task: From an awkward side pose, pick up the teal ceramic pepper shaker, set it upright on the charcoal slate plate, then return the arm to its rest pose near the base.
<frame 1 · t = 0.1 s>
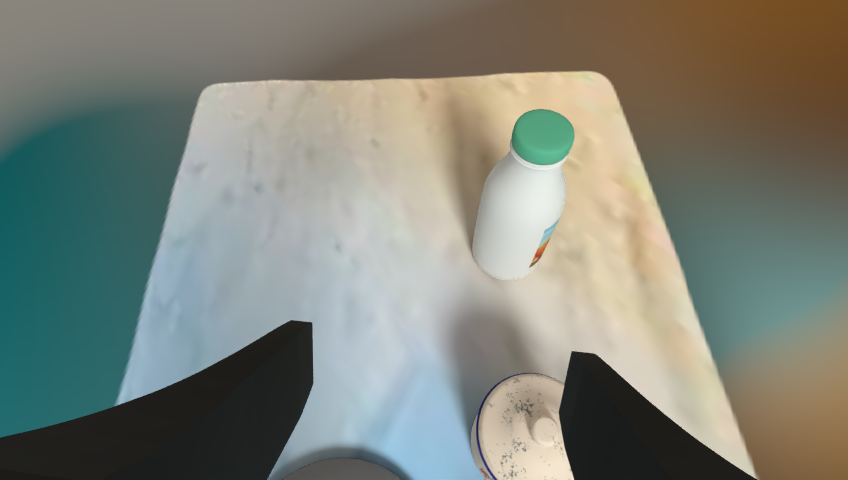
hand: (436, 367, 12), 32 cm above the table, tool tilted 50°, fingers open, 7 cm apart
milk bottle: (504, 253, 50), on the table
teacup with lid: (531, 445, 40), on the table
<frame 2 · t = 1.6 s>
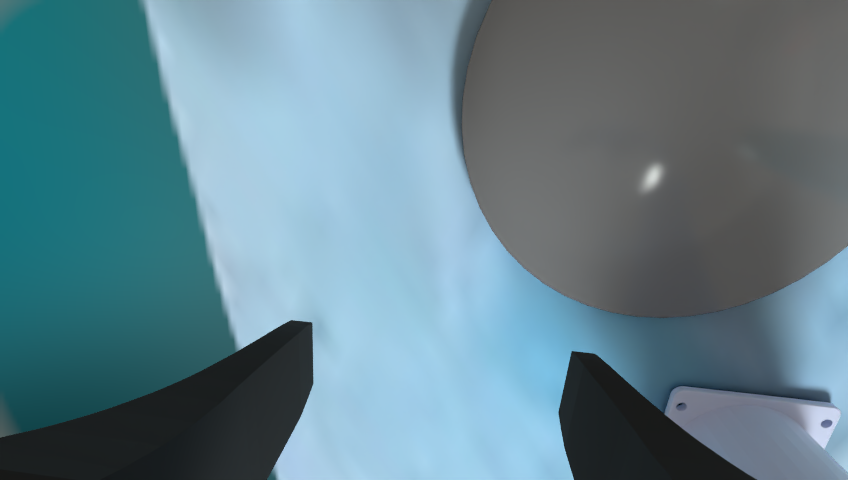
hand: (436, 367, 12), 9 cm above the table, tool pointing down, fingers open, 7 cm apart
slate plate: (678, 114, 18), on the table
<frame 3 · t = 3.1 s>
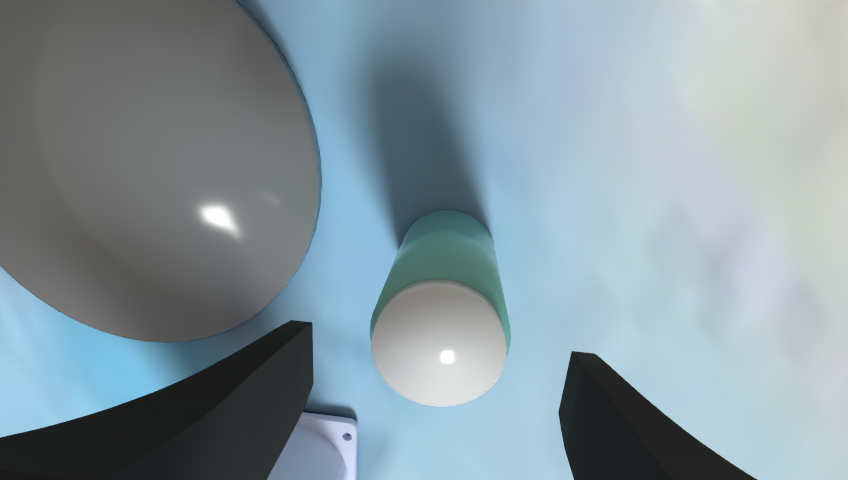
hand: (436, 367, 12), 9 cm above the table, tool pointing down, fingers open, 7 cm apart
slate plate: (133, 163, 20), on the table
pepper shaker: (447, 254, 20), on the table
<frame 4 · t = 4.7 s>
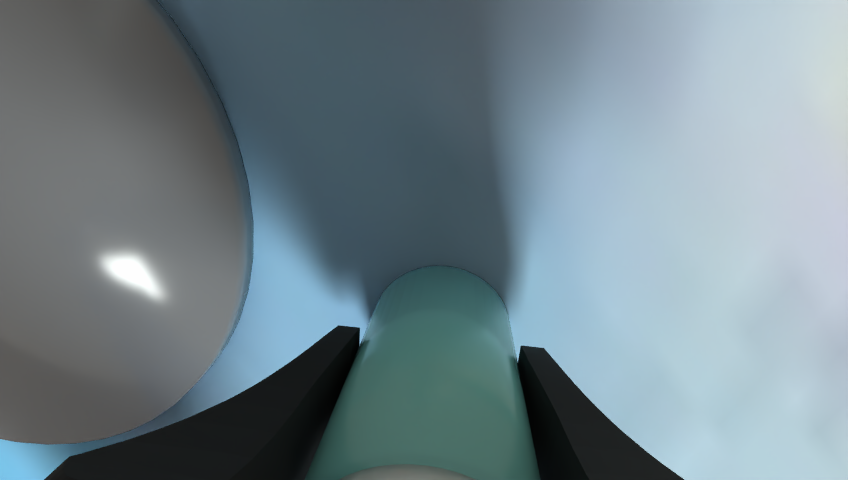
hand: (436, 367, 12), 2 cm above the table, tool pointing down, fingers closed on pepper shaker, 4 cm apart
pepper shaker: (440, 329, 14), on the table, touching gripper
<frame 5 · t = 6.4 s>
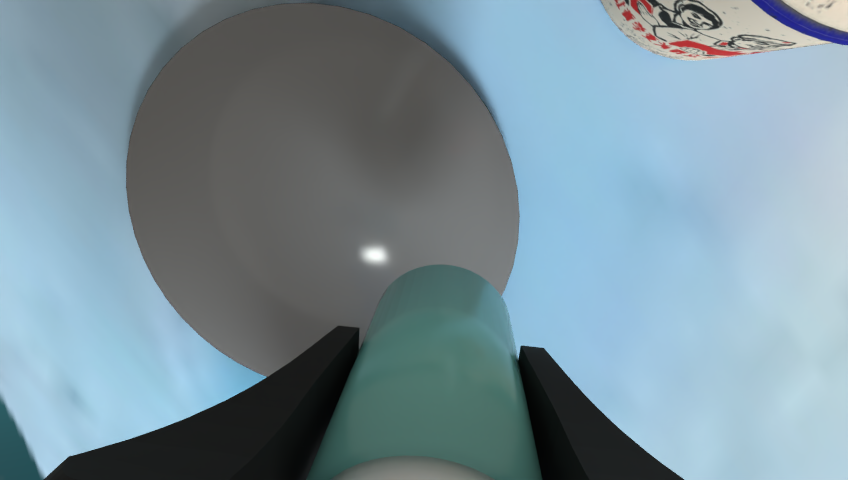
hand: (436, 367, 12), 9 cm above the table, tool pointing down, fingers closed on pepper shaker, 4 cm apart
slate plate: (324, 220, 20), on the table
pepper shaker: (441, 327, 14), point 7 cm above the table, touching gripper
when the fingers open (5 cm above the table, at t = 8.5 s): pepper shaker drops 1 cm, resting on slate plate.
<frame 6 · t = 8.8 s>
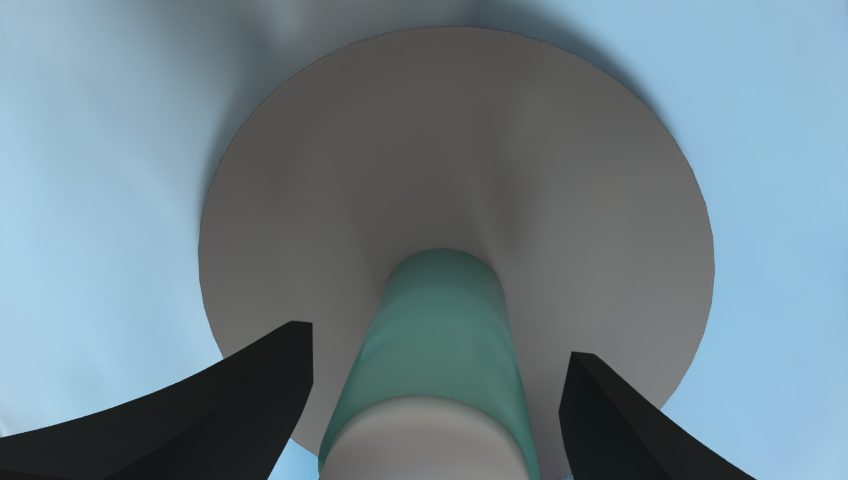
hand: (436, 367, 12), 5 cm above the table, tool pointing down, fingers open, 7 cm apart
slate plate: (444, 293, 16), on the table
pepper shaker: (443, 306, 15), point 1 cm above the table, touching slate plate
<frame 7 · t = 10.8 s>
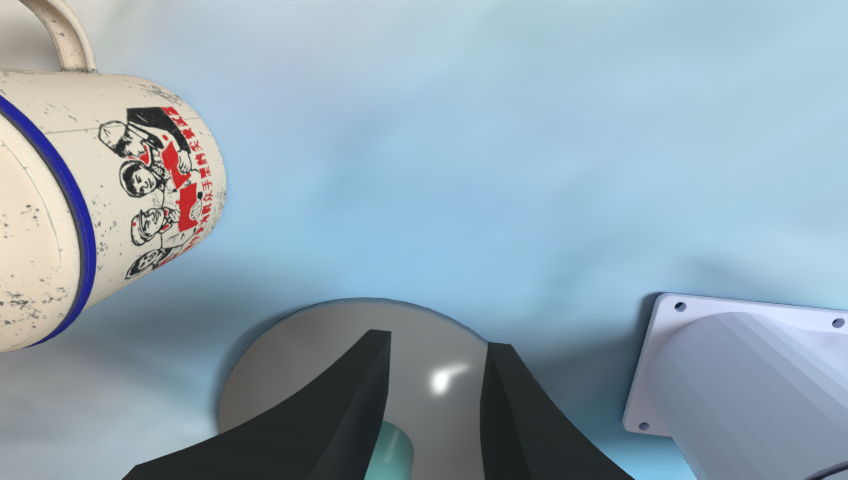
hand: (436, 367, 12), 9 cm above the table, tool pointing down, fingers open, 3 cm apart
slate plate: (378, 437, 25), on the table
pepper shaker: (374, 450, 24), point 1 cm above the table, touching slate plate
teacup with lid: (143, 138, 21), on the table
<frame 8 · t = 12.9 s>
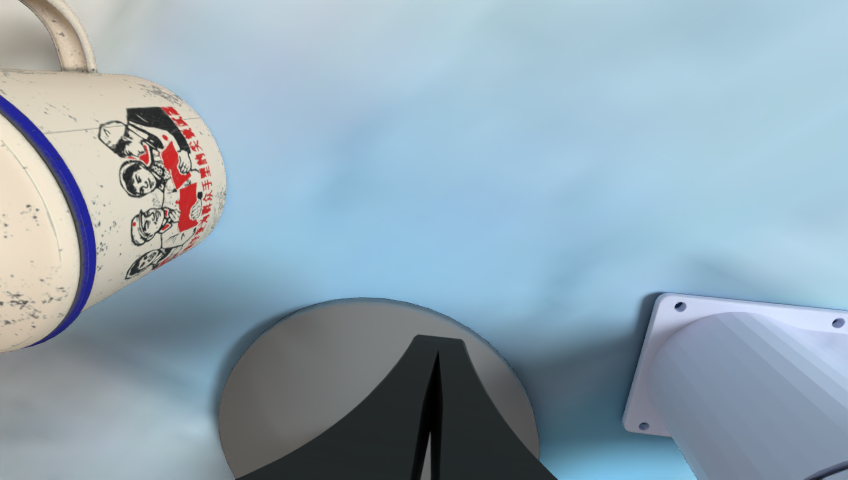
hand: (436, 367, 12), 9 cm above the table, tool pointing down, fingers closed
slate plate: (378, 437, 25), on the table
teacup with lid: (143, 138, 21), on the table
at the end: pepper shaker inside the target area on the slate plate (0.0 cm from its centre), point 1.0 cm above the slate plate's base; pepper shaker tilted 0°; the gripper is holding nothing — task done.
